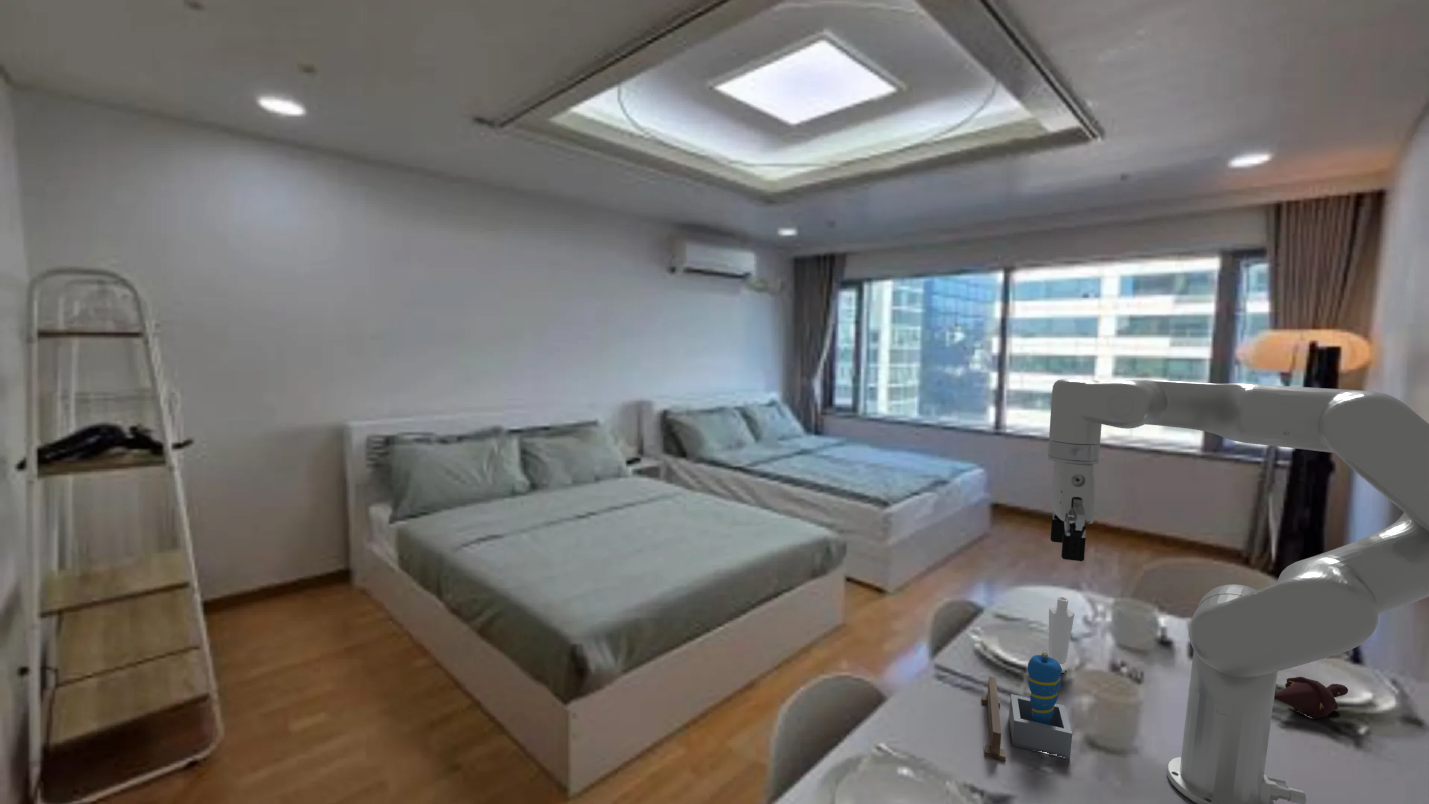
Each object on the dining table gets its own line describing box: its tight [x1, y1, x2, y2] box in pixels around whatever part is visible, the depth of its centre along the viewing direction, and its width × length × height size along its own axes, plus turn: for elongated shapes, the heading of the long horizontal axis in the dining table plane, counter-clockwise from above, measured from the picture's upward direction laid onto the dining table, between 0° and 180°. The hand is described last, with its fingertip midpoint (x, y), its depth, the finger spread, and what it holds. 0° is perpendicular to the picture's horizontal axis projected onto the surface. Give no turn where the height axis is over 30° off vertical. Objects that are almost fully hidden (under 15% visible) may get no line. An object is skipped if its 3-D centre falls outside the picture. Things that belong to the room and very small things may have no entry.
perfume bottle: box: [1048, 596, 1075, 664], centre depth 127 cm, size 5×4×15 cm
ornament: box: [1027, 649, 1062, 725], centre depth 104 cm, size 5×5×15 cm
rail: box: [981, 675, 1007, 763], centre depth 108 cm, size 3×18×4 cm, turn 158°
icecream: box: [1274, 676, 1349, 720], centre depth 114 cm, size 7×7×15 cm
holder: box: [1008, 693, 1073, 761], centre depth 105 cm, size 8×8×4 cm
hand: (1066, 550), depth 107 cm, fingers open, 9 cm apart
